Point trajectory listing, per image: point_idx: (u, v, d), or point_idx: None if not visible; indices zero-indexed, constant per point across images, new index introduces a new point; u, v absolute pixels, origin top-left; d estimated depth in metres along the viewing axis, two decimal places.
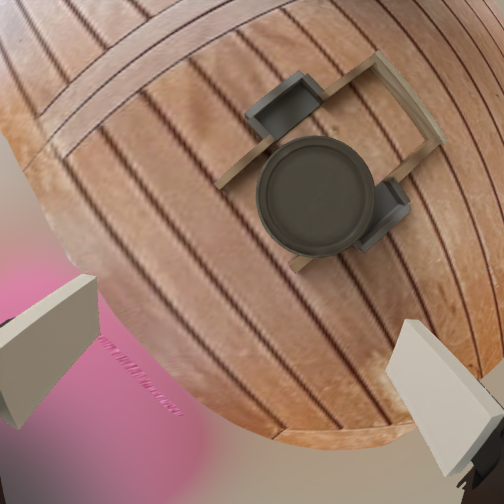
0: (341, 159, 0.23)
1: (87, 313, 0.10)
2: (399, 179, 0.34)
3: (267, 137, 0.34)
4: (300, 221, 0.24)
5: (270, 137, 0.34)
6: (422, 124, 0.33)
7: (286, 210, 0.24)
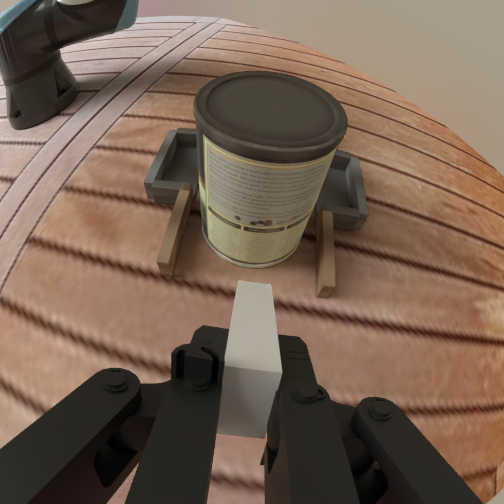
0: (260, 79, 0.20)
1: None
2: None
3: (182, 186, 0.28)
4: (279, 124, 0.17)
5: (184, 184, 0.28)
6: None
7: (254, 123, 0.17)
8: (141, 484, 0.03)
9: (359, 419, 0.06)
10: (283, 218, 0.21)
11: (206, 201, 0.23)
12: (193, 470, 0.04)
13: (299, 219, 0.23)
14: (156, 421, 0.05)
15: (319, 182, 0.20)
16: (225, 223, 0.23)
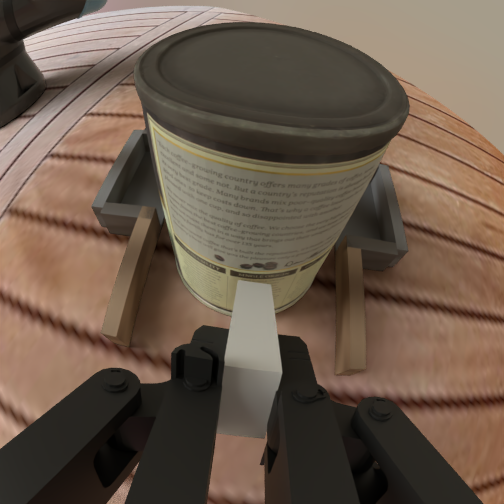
0: (255, 31, 0.11)
1: None
2: None
3: (141, 212, 0.19)
4: (291, 87, 0.08)
5: (145, 209, 0.19)
6: None
7: (243, 86, 0.08)
8: (141, 484, 0.03)
9: (359, 419, 0.06)
10: (296, 258, 0.13)
11: (170, 227, 0.14)
12: (194, 470, 0.04)
13: (320, 256, 0.14)
14: (156, 421, 0.05)
15: (359, 197, 0.11)
16: (200, 262, 0.14)
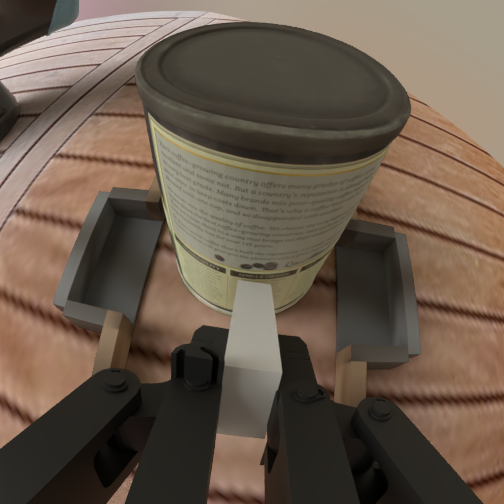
0: (257, 31, 0.11)
1: None
2: (354, 214, 0.21)
3: (107, 318, 0.15)
4: (293, 87, 0.08)
5: (111, 315, 0.15)
6: None
7: (245, 86, 0.08)
8: (141, 484, 0.03)
9: (359, 419, 0.06)
10: (296, 258, 0.13)
11: (171, 227, 0.14)
12: (194, 470, 0.04)
13: (321, 256, 0.14)
14: (156, 421, 0.05)
15: (360, 198, 0.11)
16: (200, 262, 0.14)
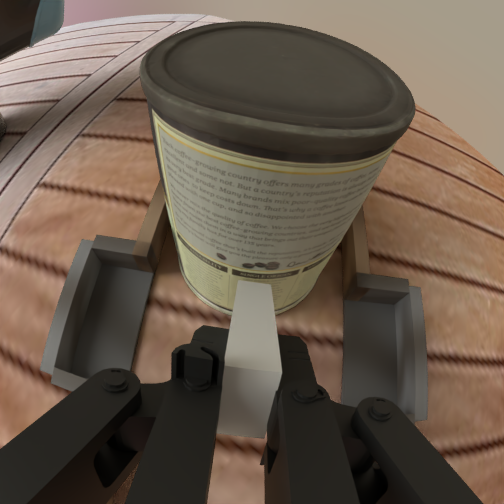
0: (262, 30, 0.11)
1: None
2: (366, 267, 0.18)
3: None
4: (297, 86, 0.08)
5: None
6: None
7: (249, 84, 0.08)
8: (141, 484, 0.03)
9: (359, 419, 0.06)
10: (298, 258, 0.12)
11: (173, 225, 0.14)
12: (194, 470, 0.04)
13: (323, 257, 0.14)
14: (156, 421, 0.05)
15: (363, 199, 0.11)
16: (202, 261, 0.14)
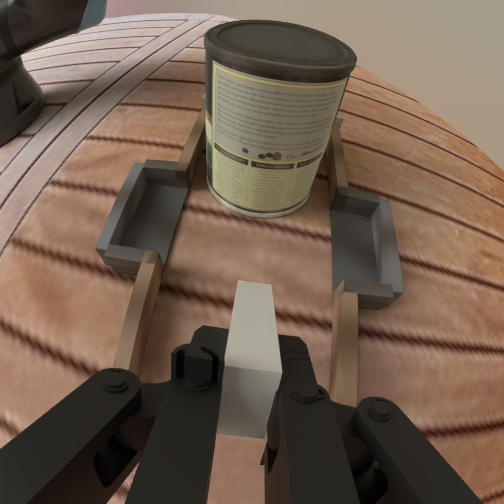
0: (269, 25, 0.18)
1: None
2: (345, 183, 0.25)
3: (145, 256, 0.20)
4: (289, 51, 0.15)
5: (148, 253, 0.20)
6: None
7: (264, 49, 0.15)
8: (141, 484, 0.03)
9: (359, 419, 0.06)
10: (293, 152, 0.19)
11: (212, 138, 0.21)
12: (193, 470, 0.04)
13: (310, 158, 0.21)
14: (156, 421, 0.05)
15: (330, 115, 0.18)
16: (231, 159, 0.21)
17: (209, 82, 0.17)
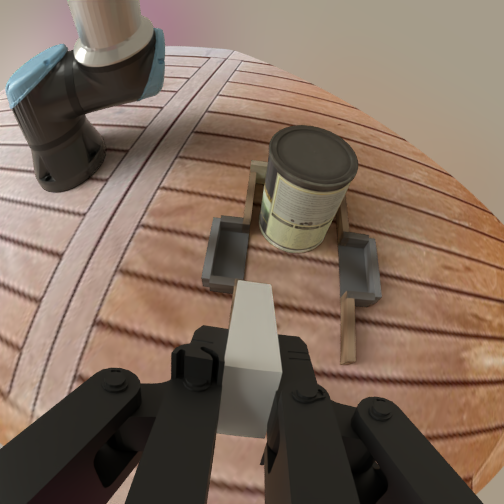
0: (304, 132, 0.33)
1: None
2: (347, 229, 0.41)
3: (235, 282, 0.36)
4: (320, 168, 0.30)
5: (237, 280, 0.36)
6: None
7: (307, 168, 0.30)
8: (141, 484, 0.03)
9: (359, 419, 0.06)
10: (319, 221, 0.35)
11: (270, 209, 0.36)
12: (194, 470, 0.04)
13: (327, 221, 0.36)
14: (156, 421, 0.05)
15: (341, 200, 0.34)
16: (282, 223, 0.36)
17: (273, 181, 0.33)
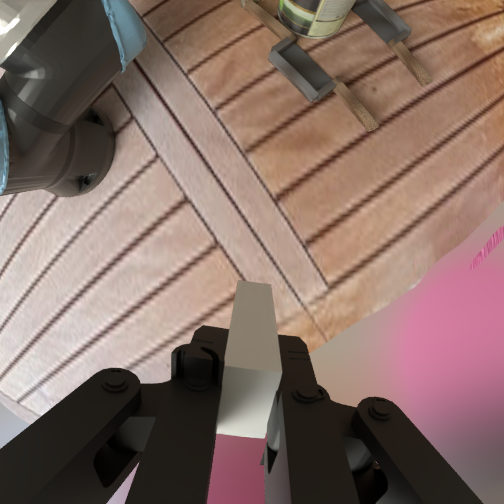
0: None
1: None
2: None
3: (335, 82, 0.35)
4: None
5: (335, 80, 0.35)
6: None
7: None
8: (141, 484, 0.03)
9: (359, 419, 0.06)
10: None
11: (314, 18, 0.29)
12: (193, 470, 0.04)
13: None
14: (156, 421, 0.05)
15: None
16: (328, 22, 0.30)
17: (316, 1, 0.25)
